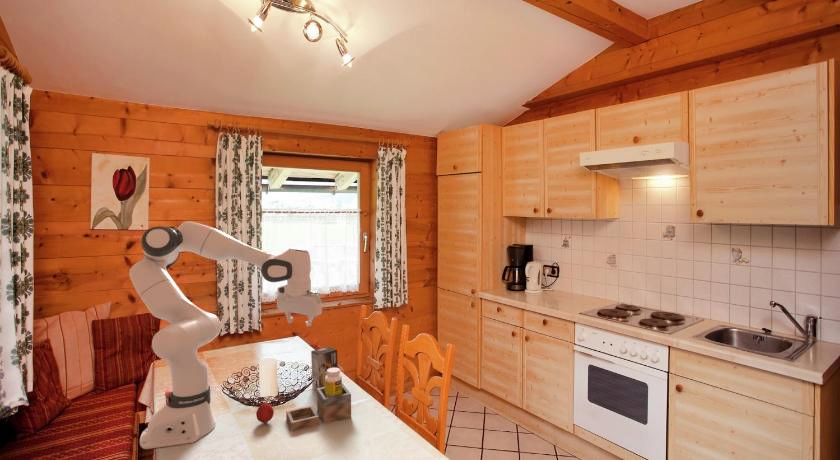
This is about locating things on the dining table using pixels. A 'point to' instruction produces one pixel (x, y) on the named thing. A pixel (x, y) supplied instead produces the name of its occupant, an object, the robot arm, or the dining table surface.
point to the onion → (265, 413)
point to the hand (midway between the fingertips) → (299, 324)
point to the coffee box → (322, 365)
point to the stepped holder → (322, 410)
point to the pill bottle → (333, 382)
